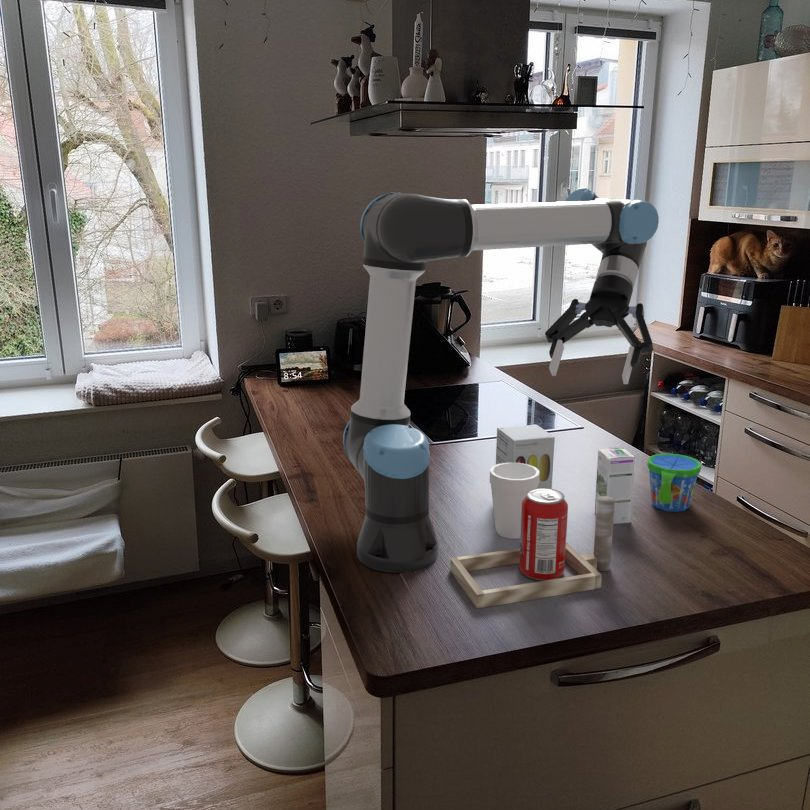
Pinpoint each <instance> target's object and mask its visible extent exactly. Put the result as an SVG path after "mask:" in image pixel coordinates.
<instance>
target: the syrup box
mask: <svg viewBox="0 0 810 810" xmlns="http://www.w3.org/2000/svg"><path fill="white" fill-rule="evenodd" d="M635 460H636V457H635V456H634V455H633V454H632V453H631V452H629V451H628V450H627V449H626V448H624V447H609V448H608V447H606V448H601V449H599V448H598V451H597V464H596V465H597V466H596V482H595V483H596V484H595V487H596V488H595V499H594V505H595V506H594V514H595V515H596V509H597V498H598V497H601V496H607V497H611V498H613V499H615V508H614V521H613V525H614V524H615V525H616V524H617V525H618V524H628V523H629V524H630V523H631V522H632V520H631V519H632V509H633V495H634V493H633V492H634V478H635V477H634V476H635V462H636V461H635Z"/></svg>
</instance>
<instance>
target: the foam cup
mask: <svg viewBox="0 0 810 810" xmlns="http://www.w3.org/2000/svg"><path fill="white" fill-rule="evenodd" d="M539 472H540V471H539V470H538V469H537V468H536V467H534V466H531V465H528V464H523V463H501V464H497V465H496V464H495V465H493V466H491V468H490V469H489V483H490V489H491V498H492V504H493V505H492V507H493V515H494V517H493V518H494V524H495V530H496V531H495V532H496V533H497V534H498V536H501V537H503V538H504V539H505V538H506V539H512V540H513V539H514V540H515V539H516V540H517V539H520V534H521V508H522V501H523V499H524V498H525V497H526V493H527V492H528V491H529V490H532V489H536V488H537V487H538V485H539Z"/></svg>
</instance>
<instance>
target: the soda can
mask: <svg viewBox="0 0 810 810" xmlns="http://www.w3.org/2000/svg"><path fill="white" fill-rule="evenodd" d="M568 504H569V503H568V502H567V501H566V499H565V494H564V493H563V492H561V491H559V490H557V489H554V488H552V489H549V488H536V489H532V490H529V491H528V492H527V493H526V497H525V498H524V499H523V501H522V508H521V534H520V538H519V539H520V540H519V548H520V560H519V570H520V572H521V573H522V574H523V575H524V576H525V577H527V578H529V579H532V580H535V581H538V582H540V581H546V580H552V579H558V578H562V576H563V575H564V573H565V570H566V569H565V567H566V565H565V564H566V561H565V553H566V542H567V535H568V534H567V533H568V531H567V530H568V517H569V516H568V515H569V513H568V512H569V505H568Z"/></svg>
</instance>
